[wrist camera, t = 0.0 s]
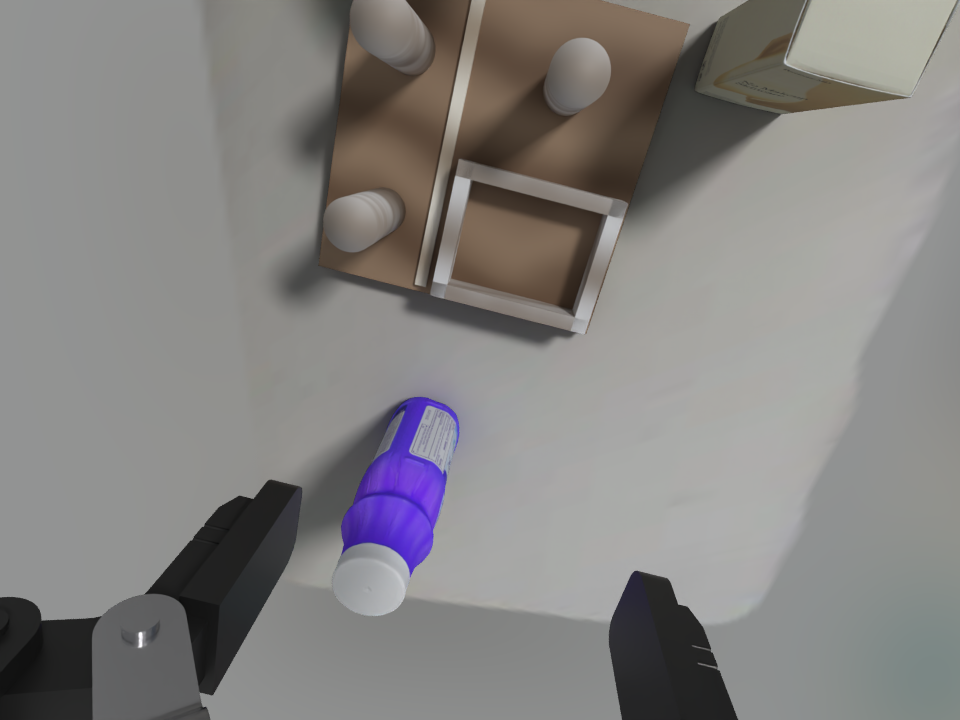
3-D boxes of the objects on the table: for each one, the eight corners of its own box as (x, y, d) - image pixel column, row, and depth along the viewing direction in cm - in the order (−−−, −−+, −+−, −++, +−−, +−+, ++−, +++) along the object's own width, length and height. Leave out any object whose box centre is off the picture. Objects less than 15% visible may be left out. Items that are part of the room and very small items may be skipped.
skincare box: (691, 92, 35) (772, 65, 23) (717, 15, 33) (818, -54, 22) (787, 117, 35) (915, 102, 24) (818, 41, 33) (972, -14, 22)
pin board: (368, -55, 33) (311, -129, 24) (682, 29, 34) (740, -14, 25) (325, 261, 41) (270, 292, 32) (583, 327, 41) (600, 376, 32)
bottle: (441, 476, 47) (398, 650, 30) (379, 453, 46) (302, 617, 30) (471, 406, 44) (441, 555, 28) (405, 381, 44) (335, 518, 27)
